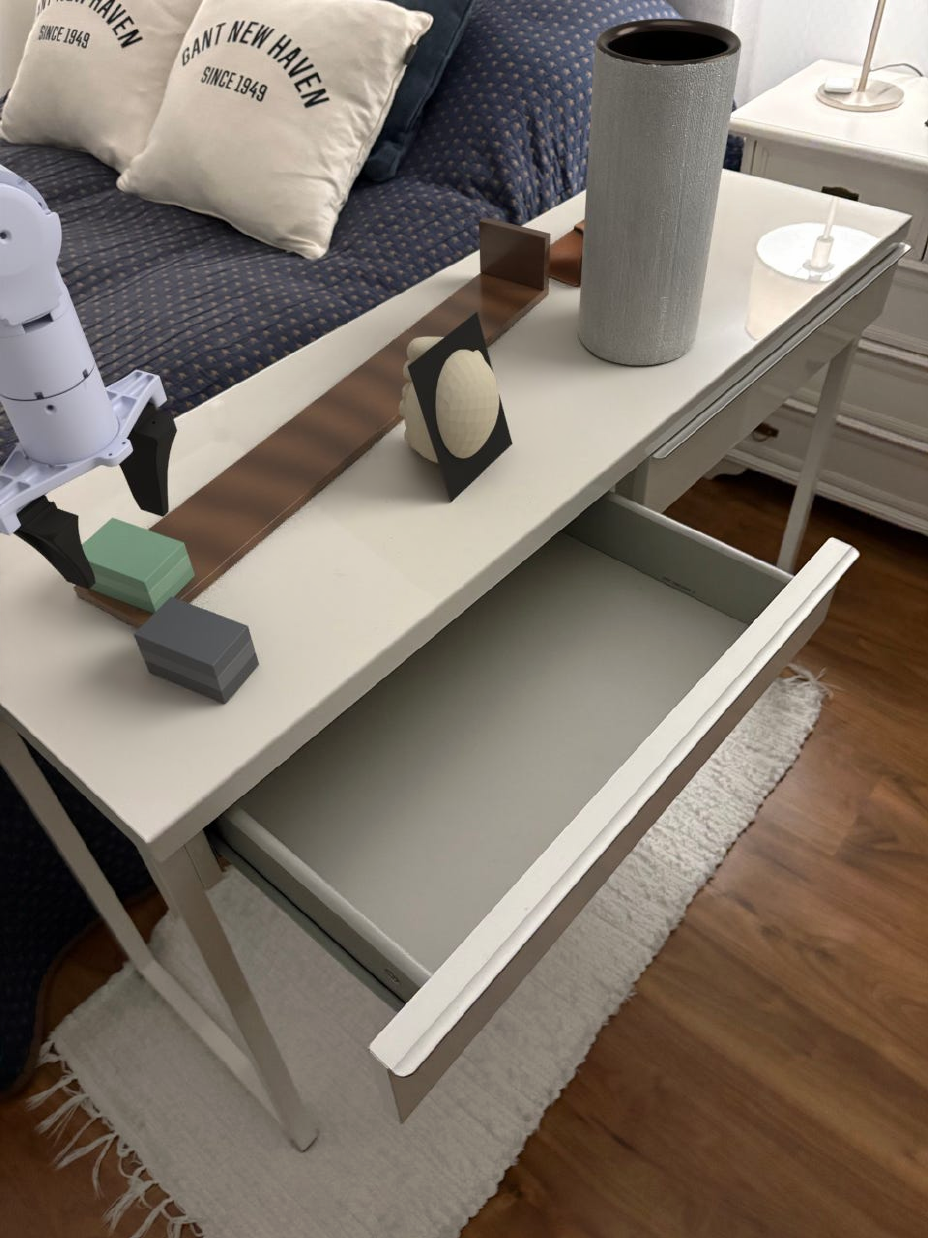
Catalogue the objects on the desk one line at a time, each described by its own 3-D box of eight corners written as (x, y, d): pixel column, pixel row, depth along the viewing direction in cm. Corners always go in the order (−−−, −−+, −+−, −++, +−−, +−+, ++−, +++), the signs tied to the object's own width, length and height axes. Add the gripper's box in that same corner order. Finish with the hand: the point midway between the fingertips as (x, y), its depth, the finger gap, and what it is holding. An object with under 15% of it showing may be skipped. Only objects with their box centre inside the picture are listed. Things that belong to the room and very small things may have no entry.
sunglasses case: (606, 209, 121) (633, 168, 116) (645, 248, 121) (675, 210, 116) (524, 266, 112) (550, 224, 106) (566, 309, 112) (595, 270, 106)
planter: (718, 331, 101) (770, 33, 81) (651, 381, 95) (689, 73, 75) (622, 295, 107) (649, 9, 87) (554, 340, 101) (565, 44, 81)
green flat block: (156, 615, 74) (148, 593, 72) (85, 587, 76) (75, 565, 75) (195, 575, 77) (188, 553, 75) (125, 550, 79) (116, 528, 78)
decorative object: (387, 493, 88) (449, 438, 94) (477, 505, 82) (537, 445, 87) (340, 364, 81) (410, 312, 86) (434, 367, 74) (504, 310, 80)
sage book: (148, 593, 72) (143, 581, 71) (75, 565, 75) (70, 554, 74) (188, 553, 75) (184, 542, 74) (116, 528, 77) (112, 517, 77)
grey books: (225, 704, 69) (212, 666, 66) (148, 672, 71) (132, 634, 68) (259, 664, 71) (248, 625, 68) (184, 634, 74) (170, 596, 71)
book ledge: (151, 636, 74) (124, 570, 69) (76, 596, 77) (46, 529, 72) (548, 294, 108) (550, 233, 103) (485, 276, 111) (484, 216, 106)
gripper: (3, 462, 50) (92, 636, 60) (177, 323, 58) (230, 495, 68) (-92, 430, 52) (8, 602, 62) (89, 301, 61) (152, 471, 71)
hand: (119, 545), depth 65 cm, fingers open, 7 cm apart
